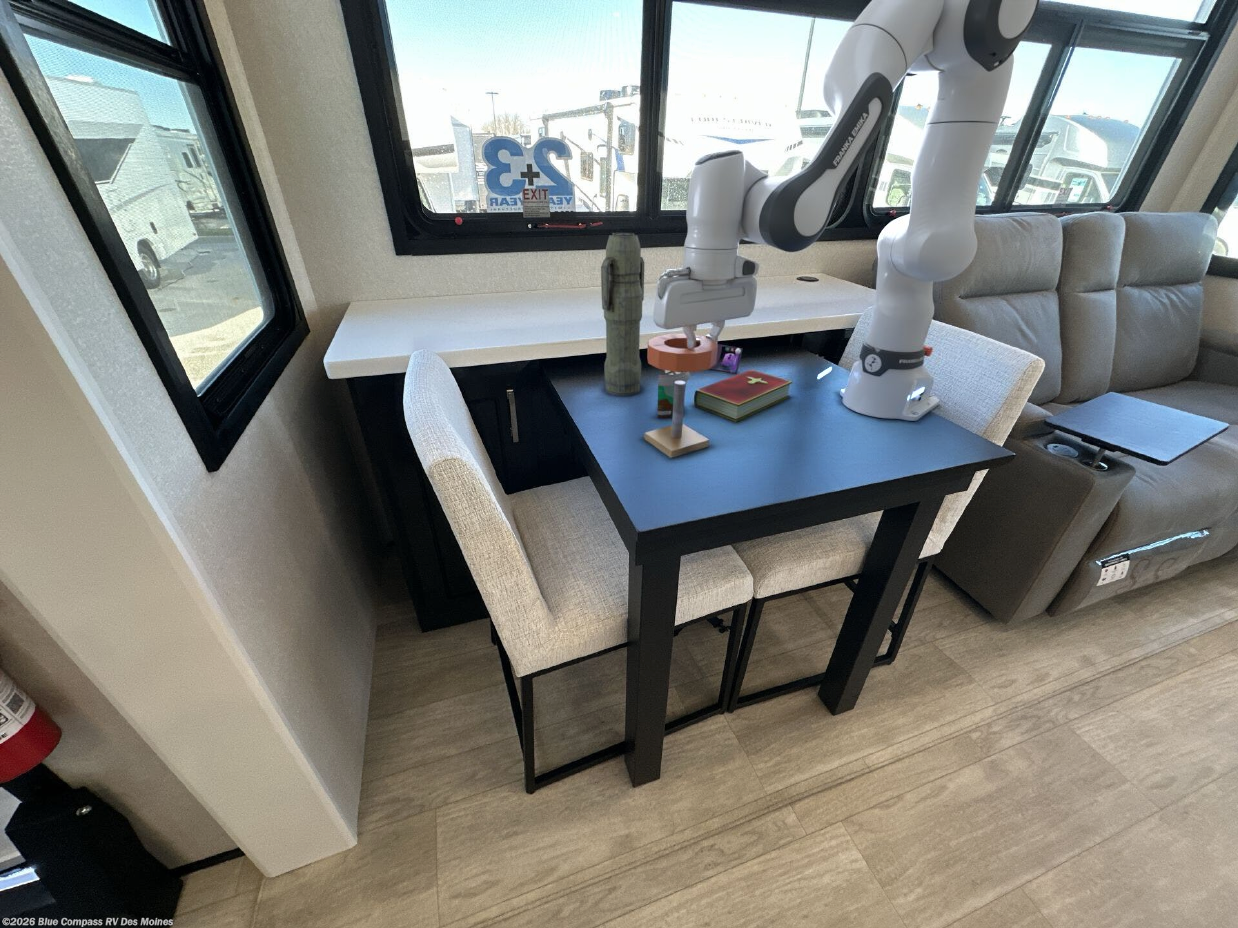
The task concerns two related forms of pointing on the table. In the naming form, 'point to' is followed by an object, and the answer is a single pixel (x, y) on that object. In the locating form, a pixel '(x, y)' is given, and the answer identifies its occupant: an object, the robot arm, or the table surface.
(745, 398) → the hardcover book
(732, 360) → the purple rectangular box
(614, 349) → the grey-green tall cylinder
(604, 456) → the table surface
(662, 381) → the food container
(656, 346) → the ring
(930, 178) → the robot arm
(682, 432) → the stand
